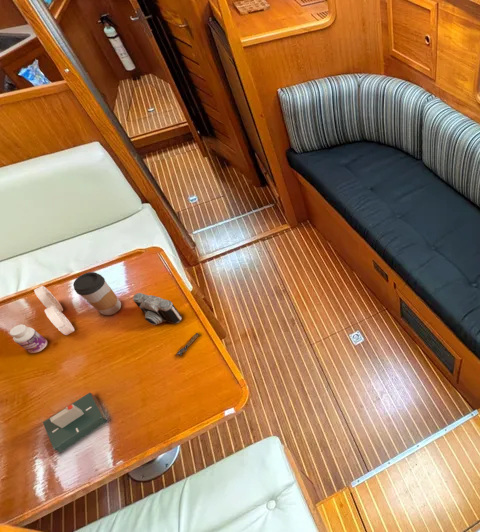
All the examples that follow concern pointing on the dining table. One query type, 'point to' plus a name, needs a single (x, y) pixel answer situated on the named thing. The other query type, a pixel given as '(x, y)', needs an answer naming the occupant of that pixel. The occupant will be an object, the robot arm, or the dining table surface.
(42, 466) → the dining table surface
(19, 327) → the pill bottle
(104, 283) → the coffee cup
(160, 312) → the camera
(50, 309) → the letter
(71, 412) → the tap handle
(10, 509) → the dining table surface
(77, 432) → the green switch panel
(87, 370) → the dining table surface
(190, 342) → the can opener
